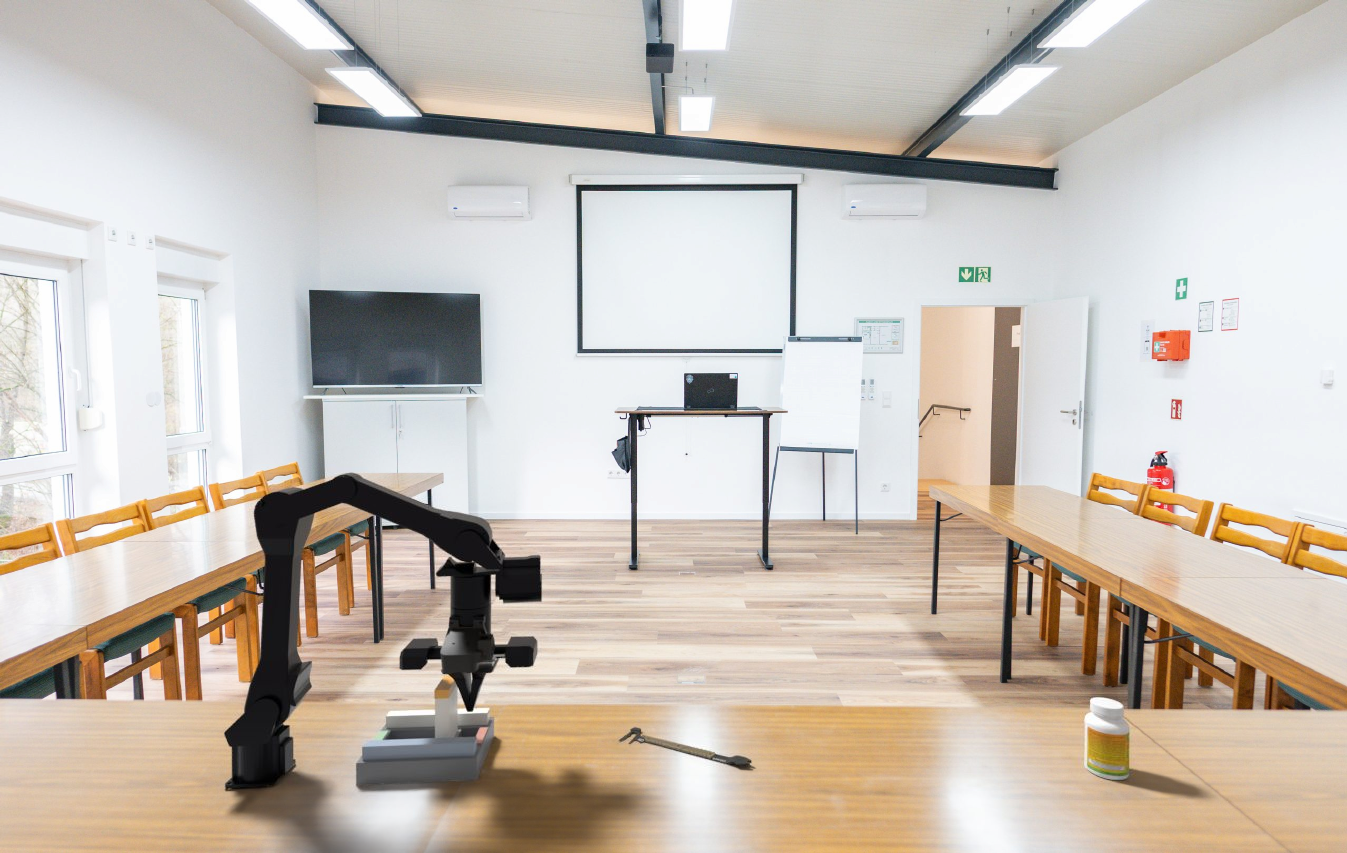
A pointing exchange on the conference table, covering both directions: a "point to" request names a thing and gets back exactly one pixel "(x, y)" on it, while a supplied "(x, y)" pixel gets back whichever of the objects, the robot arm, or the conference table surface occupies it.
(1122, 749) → the supplement bottle
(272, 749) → the robot arm
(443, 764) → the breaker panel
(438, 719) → the handle
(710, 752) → the tactical tomahawk
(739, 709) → the conference table surface
